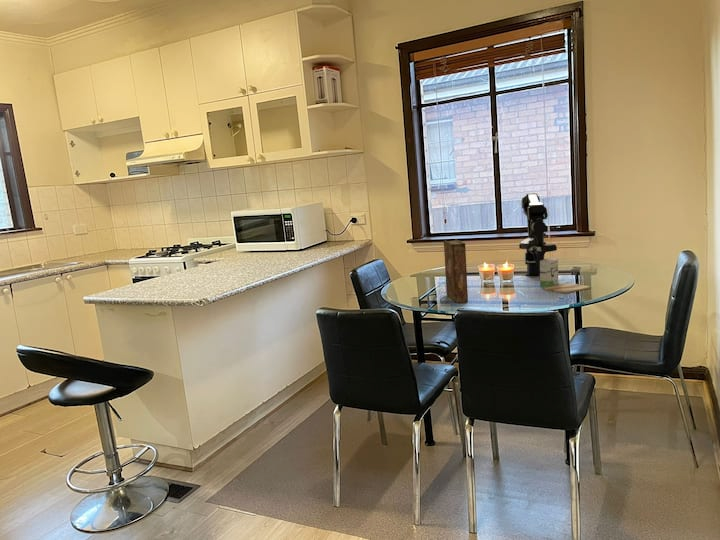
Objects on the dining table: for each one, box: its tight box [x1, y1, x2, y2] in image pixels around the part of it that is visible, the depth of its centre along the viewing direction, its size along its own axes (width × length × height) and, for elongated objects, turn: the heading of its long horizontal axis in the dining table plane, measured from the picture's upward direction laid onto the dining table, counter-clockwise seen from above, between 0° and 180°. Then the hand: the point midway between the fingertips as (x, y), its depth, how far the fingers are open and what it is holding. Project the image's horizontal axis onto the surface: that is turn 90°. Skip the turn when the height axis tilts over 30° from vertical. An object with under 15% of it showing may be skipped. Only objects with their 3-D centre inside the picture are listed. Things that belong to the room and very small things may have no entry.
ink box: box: [539, 257, 559, 287], centre depth 245 cm, size 9×5×12 cm, turn 134°
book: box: [443, 239, 469, 304], centre depth 232 cm, size 16×6×25 cm, turn 5°
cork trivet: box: [542, 282, 592, 295], centre depth 236 cm, size 13×15×1 cm
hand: (537, 264), depth 250 cm, fingers closed
